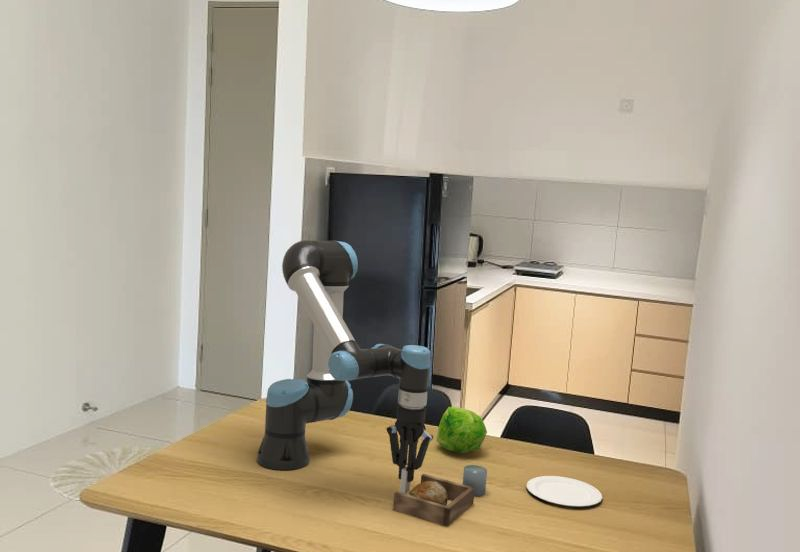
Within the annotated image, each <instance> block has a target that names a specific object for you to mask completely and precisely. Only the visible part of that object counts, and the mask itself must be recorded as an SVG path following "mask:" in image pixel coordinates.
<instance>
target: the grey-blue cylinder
mask: <svg viewBox="0 0 800 552" xmlns="http://www.w3.org/2000/svg"><path fill="white" fill-rule="evenodd" d="M487 476H488V469H487V468H485V467H484V466H482V465H478V464H477V465H476V464H468V465H465V466H464V467H463V474H462V485H466V486H470V487H473V488H475V490H474V498H481V497H483V496H485V495H486V489H487V479H488V478H487Z"/></svg>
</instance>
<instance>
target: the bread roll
mask: <svg viewBox="0 0 800 552" xmlns="http://www.w3.org/2000/svg"><path fill="white" fill-rule="evenodd" d="M408 495H411V496H414V497H417V498H421V499H424V500H428V501H431V502H435V503H438V504H441V505H445V506H447V505H448V501H449V499H448V496H447V492H446V490H445V488H444V487H443V486H442V485H440V484H438V483H437V482H432V481H425V482H422V483H421V482H420V483H418V484H416V485H415V486H414V487H413V488H412V489H410V491H409V492H408Z"/></svg>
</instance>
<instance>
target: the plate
mask: <svg viewBox="0 0 800 552" xmlns="http://www.w3.org/2000/svg"><path fill="white" fill-rule="evenodd" d="M526 489H527V491H528V492H529V493H530V494H531V495H532V496H533V497H536V498H538V499H540V500H542V501H545V502H547V503H551V504H554V505H557V506H563V507H568V508H569V507H572V508H586V507H588V508H589V507H592V506H596V505H597V504H599V503H601V502H602V500H603V495H602V493H601V492H600V491H599V489H597V488H596V487H594V486H593V485H591V484H589V483H587V482H585V481H583V480H582V481H581V480H579V479H575V478H571V477H565V476H557V475H542V476H538V477H534V478H531V479H529V480H528V481H527V483H526Z"/></svg>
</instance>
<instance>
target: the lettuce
mask: <svg viewBox="0 0 800 552" xmlns="http://www.w3.org/2000/svg"><path fill="white" fill-rule="evenodd" d="M487 434H488V430H487V427H486V424H485V422H484V420H483V418H482V416H480V415H479V414H477V413H476V412H474V411H471V410H469V409H466V408H462V407H458V406H448V407H447V409H446V410H445V412H444V413H443V414H442V417H441V419H440V422H439V426H438V428H437V434H436V435H437V436H436V442H437V443H439V444H440V445H441V447H443V448H444V449H445V450H447V451H450V452H454V453H459V454H463V455H466V454H468V453H471V452H474V451H476V450H478V449H480V448H481V446H482V444H483V443H484V440H485V439H486V438H485V437H486V436H487Z"/></svg>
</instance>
